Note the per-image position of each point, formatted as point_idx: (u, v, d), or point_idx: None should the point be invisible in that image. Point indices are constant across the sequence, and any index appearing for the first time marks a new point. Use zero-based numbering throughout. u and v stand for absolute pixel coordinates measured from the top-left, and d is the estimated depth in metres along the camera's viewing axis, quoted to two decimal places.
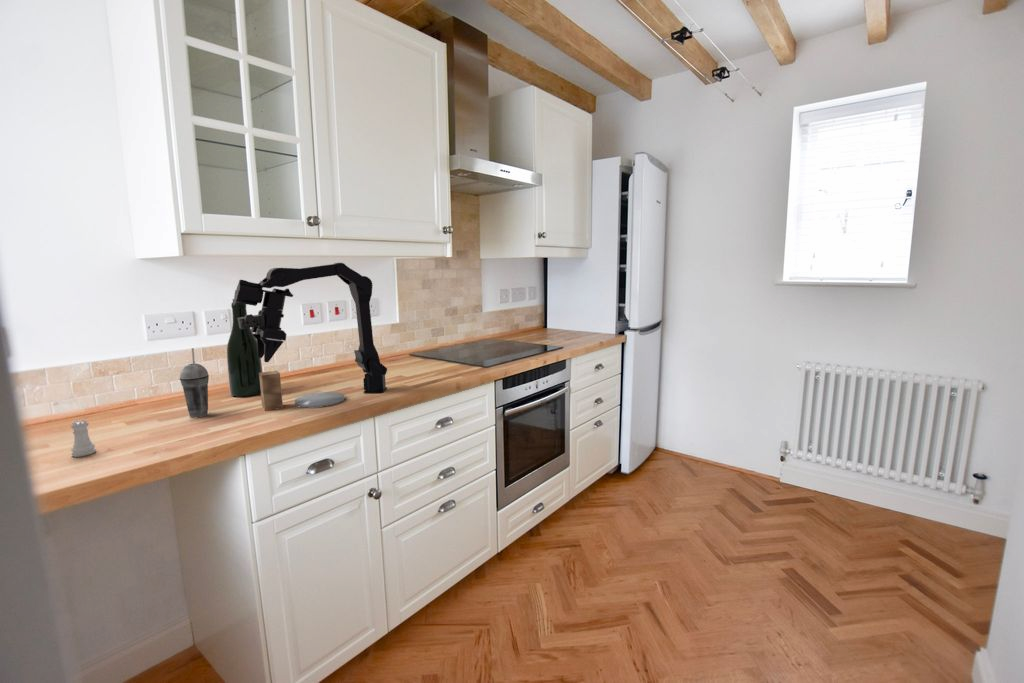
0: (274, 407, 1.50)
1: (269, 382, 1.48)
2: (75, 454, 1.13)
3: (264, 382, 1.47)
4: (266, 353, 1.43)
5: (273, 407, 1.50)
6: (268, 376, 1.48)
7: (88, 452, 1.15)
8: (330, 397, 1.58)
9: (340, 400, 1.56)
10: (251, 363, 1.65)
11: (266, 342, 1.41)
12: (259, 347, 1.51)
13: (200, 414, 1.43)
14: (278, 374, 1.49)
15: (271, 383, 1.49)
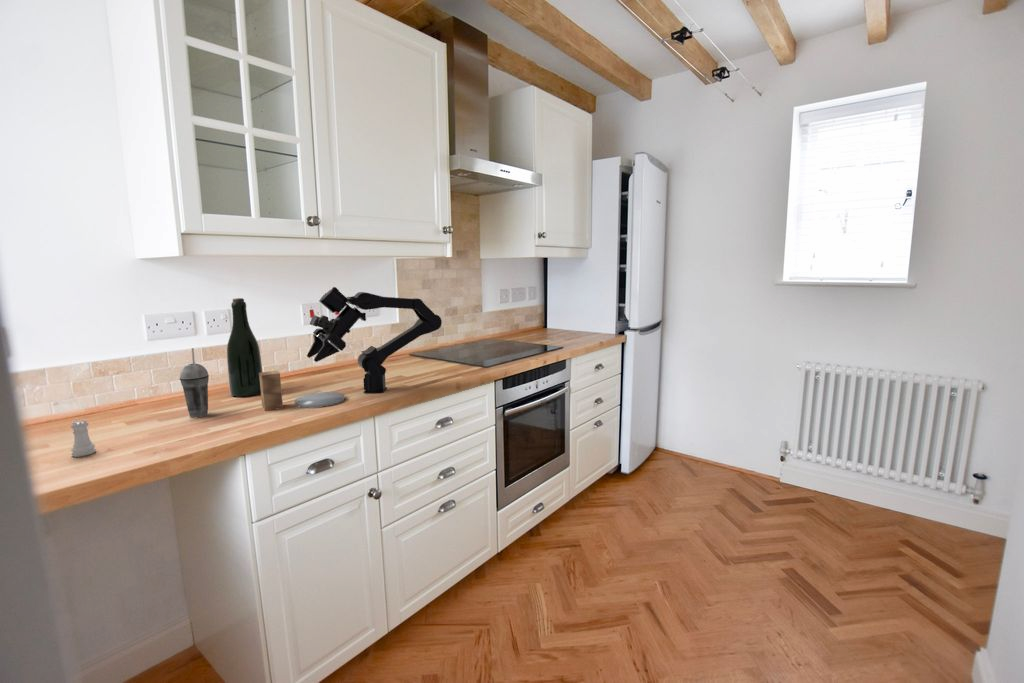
0: (274, 407, 1.50)
1: (269, 382, 1.48)
2: (75, 454, 1.13)
3: (264, 382, 1.47)
4: (319, 353, 1.53)
5: (273, 407, 1.50)
6: (268, 376, 1.48)
7: (88, 452, 1.15)
8: (330, 397, 1.58)
9: (340, 400, 1.56)
10: (251, 363, 1.65)
11: (326, 344, 1.53)
12: (312, 348, 1.62)
13: (200, 414, 1.43)
14: (278, 374, 1.49)
15: (271, 383, 1.49)
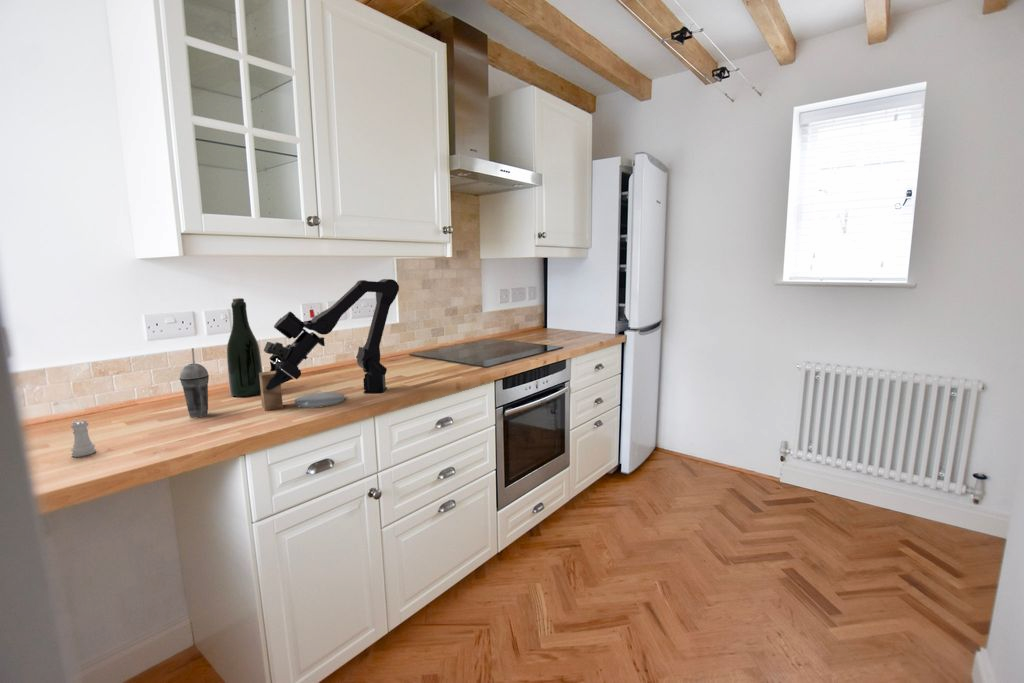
0: (274, 407, 1.50)
1: None
2: (75, 454, 1.13)
3: (264, 382, 1.47)
4: (272, 381, 1.48)
5: (273, 407, 1.50)
6: (268, 376, 1.48)
7: (88, 452, 1.15)
8: (330, 397, 1.58)
9: (340, 400, 1.56)
10: (251, 363, 1.65)
11: (278, 372, 1.47)
12: None
13: (200, 414, 1.43)
14: None
15: None
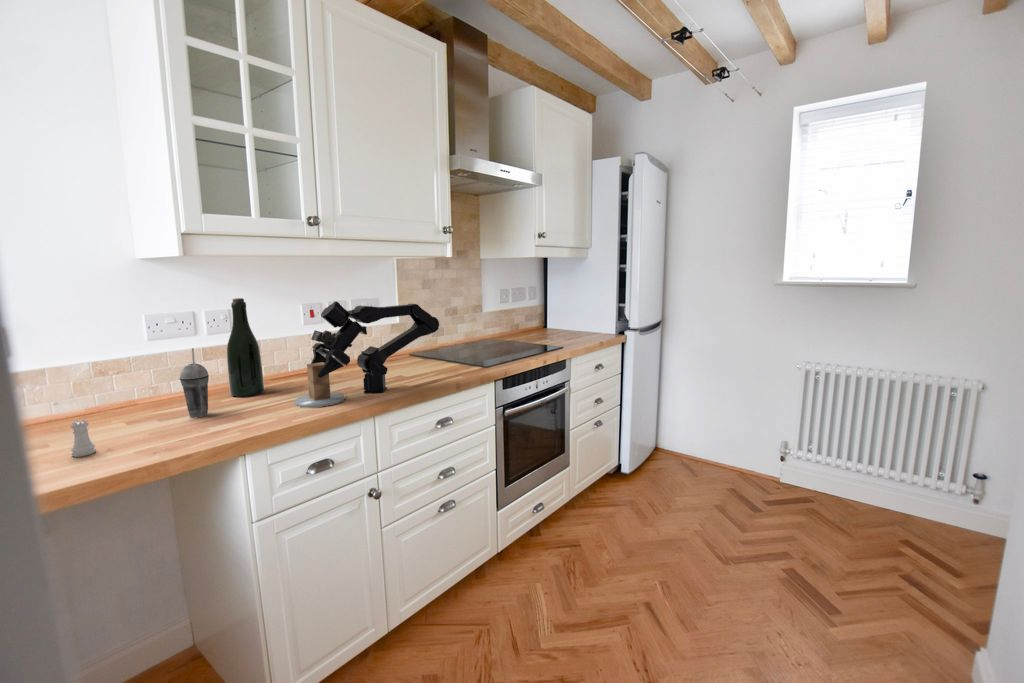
0: (323, 397, 1.56)
1: (318, 373, 1.54)
2: (75, 454, 1.13)
3: (314, 373, 1.54)
4: (324, 369, 1.52)
5: (322, 397, 1.56)
6: (318, 367, 1.54)
7: (88, 452, 1.15)
8: None
9: (340, 400, 1.56)
10: (251, 363, 1.65)
11: (330, 360, 1.52)
12: None
13: (200, 414, 1.43)
14: None
15: None
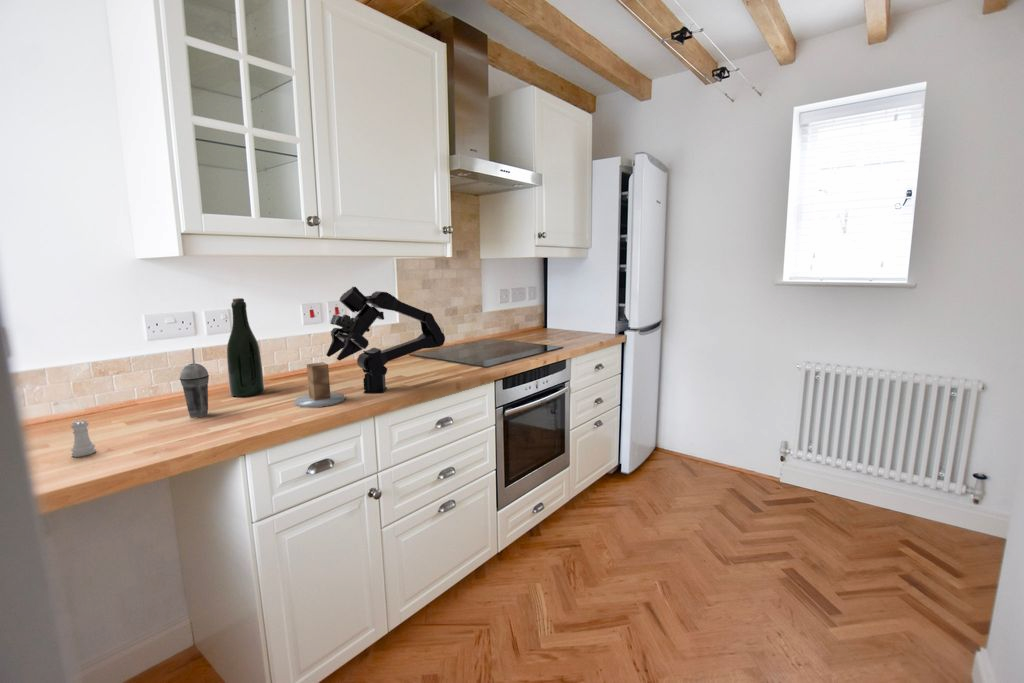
0: (323, 397, 1.56)
1: (318, 373, 1.54)
2: (75, 454, 1.13)
3: (314, 373, 1.54)
4: (343, 352, 1.56)
5: (322, 397, 1.56)
6: (318, 367, 1.54)
7: (88, 452, 1.15)
8: None
9: (340, 400, 1.56)
10: (251, 363, 1.65)
11: (349, 343, 1.56)
12: (332, 347, 1.64)
13: (200, 414, 1.43)
14: (326, 365, 1.56)
15: (320, 373, 1.55)
